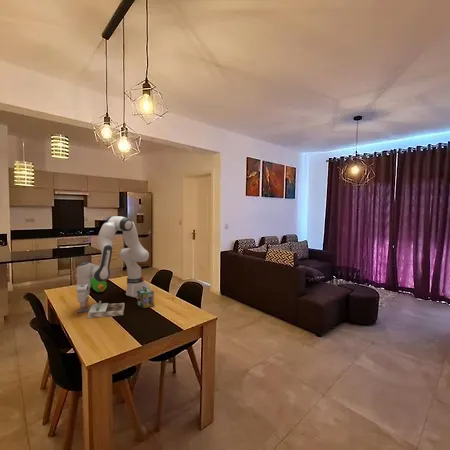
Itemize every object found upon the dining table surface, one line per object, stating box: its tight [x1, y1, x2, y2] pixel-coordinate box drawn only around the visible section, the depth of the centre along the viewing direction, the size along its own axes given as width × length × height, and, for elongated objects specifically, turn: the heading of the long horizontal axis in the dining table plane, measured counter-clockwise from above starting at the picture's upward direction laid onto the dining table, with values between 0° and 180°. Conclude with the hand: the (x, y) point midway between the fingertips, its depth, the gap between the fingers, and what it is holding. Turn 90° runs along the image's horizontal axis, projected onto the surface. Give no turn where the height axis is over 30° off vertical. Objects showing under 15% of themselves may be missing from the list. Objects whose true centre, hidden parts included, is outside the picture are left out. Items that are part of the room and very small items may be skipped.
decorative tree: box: [91, 278, 108, 293], centre depth 234 cm, size 11×12×30 cm
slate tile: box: [77, 306, 91, 314], centre depth 189 cm, size 7×7×1 cm
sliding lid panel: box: [88, 300, 109, 313], centre depth 185 cm, size 10×15×3 cm
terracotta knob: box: [79, 296, 90, 309], centre depth 189 cm, size 6×6×7 cm
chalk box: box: [137, 287, 155, 309], centre depth 201 cm, size 9×9×15 cm
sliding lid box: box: [87, 302, 125, 319], centre depth 186 cm, size 22×15×4 cm
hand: (84, 304), depth 189 cm, fingers closed on terracotta knob, 5 cm apart
